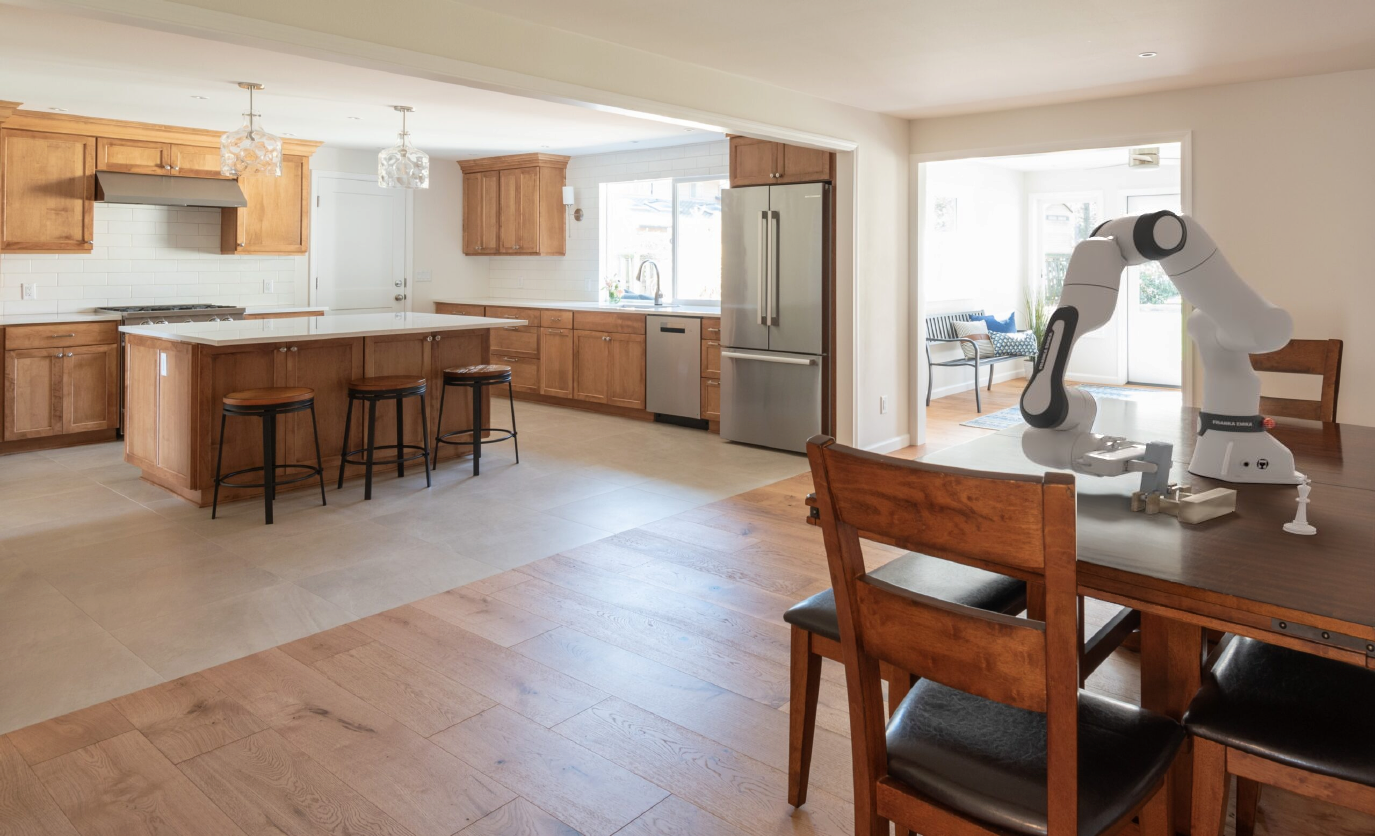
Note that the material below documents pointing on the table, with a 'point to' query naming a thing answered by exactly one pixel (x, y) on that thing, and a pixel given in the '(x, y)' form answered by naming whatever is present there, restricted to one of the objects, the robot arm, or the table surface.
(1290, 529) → the chess piece
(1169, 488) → the plunger
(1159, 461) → the peg
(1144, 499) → the plunger
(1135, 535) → the table surface
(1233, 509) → the light wooden frame
